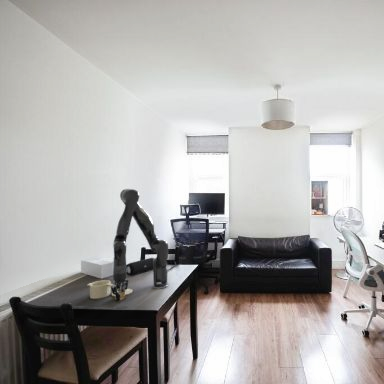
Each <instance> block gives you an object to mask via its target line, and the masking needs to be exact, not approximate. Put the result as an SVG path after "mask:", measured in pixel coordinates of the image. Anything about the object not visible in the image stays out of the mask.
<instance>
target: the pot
mask: <svg viewBox="0 0 384 384" xmlns="http://www.w3.org/2000/svg"><path fill="white" fill-rule="evenodd" d="M112 286H114V283H111V280H108V279H104V280H103V279H101V280H96V281H93V282H90V283H87V287H89V298H90V299H93V300H95V299H102V298H106V297H108V296H110V295H112V289H111V287H112Z"/></svg>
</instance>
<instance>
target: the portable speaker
mask: <svg viewBox="0 0 384 384" xmlns="http://www.w3.org/2000/svg"><path fill="white" fill-rule="evenodd" d="M154 258H155V257H147V258H144V259H141V260H136V261H132V262H129V263H126V266H127V276H136V275H138V274H142V273H145V272H149V271H152V270H153V259H154Z"/></svg>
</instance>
